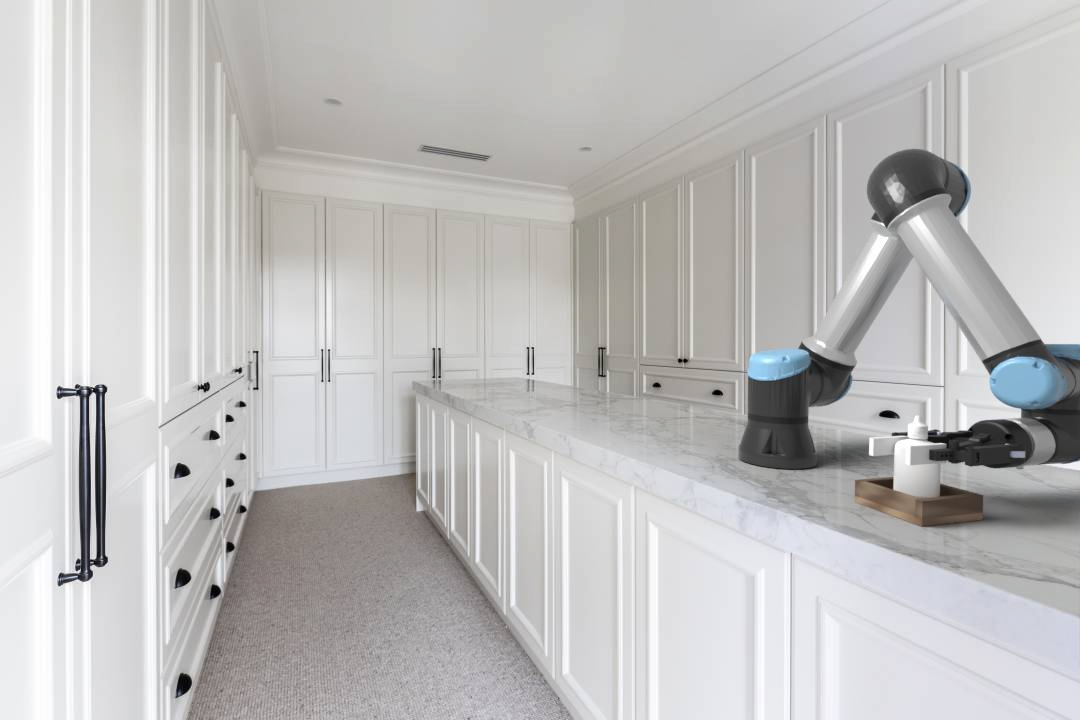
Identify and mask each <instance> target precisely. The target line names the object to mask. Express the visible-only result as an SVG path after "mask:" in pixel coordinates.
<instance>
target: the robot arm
mask: <svg viewBox="0 0 1080 720" xmlns="http://www.w3.org/2000/svg"><path fill="white" fill-rule="evenodd" d="M971 187H972V185H971V182H970V179H969V176H968V175H966V173H965V172H964V170H963V169H962V168H960V166H959V165H957V164H956V163H953V162H951V161H948V160H946V159H944V158H942V157H941V156H938V155H937V154H935V153H933V152H932V151H929V150H926V149H921V148H909V149H908V148H907V149H902V150H898V151H896V152H894V153H892V154H890V155H888V156H886V157H885V158H883V159H882V160H881V161H880V162H879V163H878V164H877V165H876V166H875V167H874V169H873V170H872V171H871V174H870V175H869V177H868V180H867V185H866V195H867V200H868V202H869V204H870V206H871V208H872V209H873V210H874V213H873V214H872V216H871V218H870V220H869V221H870V225H871V227H872V233H871V235H870V236H869V238H868V240H867V241H866V243H865V245H864V247H863V249H862V250H861V251H860V254H859V256H858V257H857V259H856V261H855V263H854V264H853V266H852V267H851V270H850V272H849V273H848V275H847V277H846V279H845V280H844V282H843V283H842V286H841V288H840V289H839V290H838V293H837V294H836V295H835V298H834V300H833V301H832V304H830V306H829V308H828V310H827V312H826V314H825V316H823V318H822V321H821V323H820V324H819V326H818V327H817V330H816V331H815V333H814V335H812V336H809V337H806V338H803V339H802V340H801V342H800V344H799V346H798V347H797V348H779V349H778V348H777V349H776V348H775V349H769V350H761V351H757V352H754V353H753V354H752V355H750V357H749V360H748V368H747V371H746V372H747V373H746V374H747V423H746V426H745V429H744V431H743V434H742V437H741V441H740V443H739V445H738V451H737V452H738V454H737V457H738V459H739V460H740V461H742V462H745V463H748V464H751V465H756V466H761V467H764V468H765V467H767V468H773V469H775V468H776V469H786V470H788V469H789V470H799V469H802V470H803V469H811V468H814V467H816V466H817V465H818V452H817V450H816V448H815V445H814V440H813V437H812V433H811V431H810V428H809V416H810V415H809V410H810V409H809V408H815V407H816V408H817V407H818V408H819V407H824V406H829V405H831V404H833V403H836V402H838V401H840V400H841V399H843V398H844V397H845V396H846V395H847V394H848V393H849V391H850V390H851V387H852V384H853V375H852V372H853V370H854V369H855V368H856V367H857V364H858V361H857V358H856V355H855V353H856V352H857V351H856V350H857V349H858V347H859V346H860V344H861V343H862V342H863V339H864V337H865V336H866V334H867V332H869V330H870V328H871V326H872V325H873V323H874V322H875V320H876V319H877V317H878V315H879V314H880V312H881V310H882V309H883V307H884V306H885V304H886V302H887V300H888V299H889V298H890V295H892V292H893V291H894V289H896V287H897V284H898V283H899V281H900V279H901V277H903V274H904V273H905V271H906V270H907V268H908V267H909V265H910V263H912V260H913V259H914V260H915V261H916V263H917V264H918V266H919V268H920V269H921V270H922V272H923V274H924V275H925V277H926V278H927V280H928V281H929V283H930V284H931V286H932V287H933V289H934V291H935V292H936V293H937V295H938V297H939V298H940V300H941V301H942V303H943V305H945V307H946V309H947V310H948V312H949V313H950V315H951V316H952V318H953V320H954V321H955V323H956V324H957V326H958V328H959V329H960V330H961V332H962V333H963V335H964V337H965V339H966V340H967V342H969V344H970V346H971V347H972V349H973V350H974V353H975V354H976V355H977V357H978V358H979V359H980V362H981V363H982V364H983V366H984V368H985V370H986V371H987V373H988V374H989V380H988V381H989V389H990V391H991V393H992V394H993V396H994V398H996V399H997V400H998V401H999V402H1001V403H1002V404H1004V405H1006V406H1008V407H1011V408H1015V409H1020V410H1021V411H1020V417H1013V418H1001V419H1000V418H999V419H984V420H979V421H977V422H975V423H973V424H972V425H971V427H969V428H968V429H967V430H962V429H961V430H958V431H943V432H941V430H938V429H930V430H928V439H926V440H927V441H929V442H932V443H934V444H918V445H906V454H905V464H907V465H922V464H935V463H941V464H946V463H947V462H948V463H951V464H953V465H956V464H960V463H964V466H967V467H971V468H972V467H979V466H980V467H981V466H983V467H986V468H989V469H1007V468H1008V469H1009V468H1016V469H1017V470H1023V469H1024V467H1025V466H1026V467H1027V466H1038V465H1039V466H1041V465H1055V464H1056V465H1057V464H1059V465H1065V464H1071V463H1072V464H1073V463H1076V462H1077V463H1078V462H1080V344H1079V343H1065V344H1064V343H1044V341H1043V339H1042V337H1040V334H1038V332H1037V331H1036V329H1035V328H1034V326H1033V325H1032V324H1031V322H1030V320H1029V319H1028V318H1027V316H1026V315H1025V314H1024V312H1023V311H1022V309H1021V307H1020V306H1019V305H1018V303H1016V300H1015V299H1014V298H1013V297H1012V295H1011V294H1010V293H1009V291H1008V289H1007V288H1006V286H1005V285H1004V284H1003V282H1002V281H1001V279H1000V278H999V277H998V275H997V273H996V272H995V271H994V269H993V268H992V267H991V265H990V263H988V261H987V259H986V258H985V257H984V255H983V254H982V252H981V251H980V249H979V248H978V247H977V246H976V244H975V242H974V241H973V240H972V239H971V236H969V234H968V233H967V231H966V230H965V228H964V227H963V225H962V224H961V223H960V222H959V220H958V217H959V216H960V215H961V214H962V213H963V212H964V211H965V209H966V207H967V205H968V204H969V201H970V199H971V194H972V188H971ZM905 439H908V431H903V432H896V431H895V432H892V433H891V436H876V437H875V436H874V437H872V436H871V437H869V439H868V440H869V442H868V443H869V444H868V445H869V446H868V447H869V448H868V456H871V457H880V456H883V457H884V456H894V450H895V444H896V443H897V442H898V441H900V440H905Z"/></svg>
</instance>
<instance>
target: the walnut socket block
mask: <svg viewBox="0 0 1080 720" xmlns="http://www.w3.org/2000/svg"><path fill="white" fill-rule="evenodd" d="M893 482H894V476H887V477H874V478H863V479H860V478H859V479H854V502H855V503H856V504H859V505H862V506H865V507H867V508H870V509H873V510H875V511H878V512H881V513H884V514H887V515H890V516H892V517H894V518H898V519H901V520H903V521H905V522H909V523H910V524H911V523H912V524H913V525H916V526H919V527H929V526H939V525H946V524H947V523H948V524H956V523H963V522H964V523H965V522H972V521H980V520H981V521H983V516H984V514H983V513H984V512H983V511H984V494H980V493H976V492H973V491H968V490H965V489H961V488H958V487H955V486H951V485H946V484H943V483H940V497H932V498H918V497H915V496H912V495H908V494H905V493H902V492H899V491H896V490H893ZM954 522H956V523H954ZM938 524H939V525H938ZM948 524H947V525H948Z"/></svg>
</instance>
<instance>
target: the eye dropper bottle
mask: <svg viewBox="0 0 1080 720" xmlns="http://www.w3.org/2000/svg"><path fill="white" fill-rule="evenodd" d="M928 431H929V426H928V425H927V424H925V423H924V422H923V419H922V416H921V415H915V416H914V420H913V422H910V423H907V432H908V439H905V440H900V441H898V442H897V443H896V444H895V450H894V455H893V456H894V457H893V458H894V459H893V477H894V482H893V490H896V491H899V492H902V493H905V494H908V495H912V496H915V497H918V498H932V497H940V484H941V468H942V467H941V464H942V463H935V464H922V465H907V464H905V454H906V445H918V444H934V443H932V442H929V441H927V440H926V439H928Z"/></svg>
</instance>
